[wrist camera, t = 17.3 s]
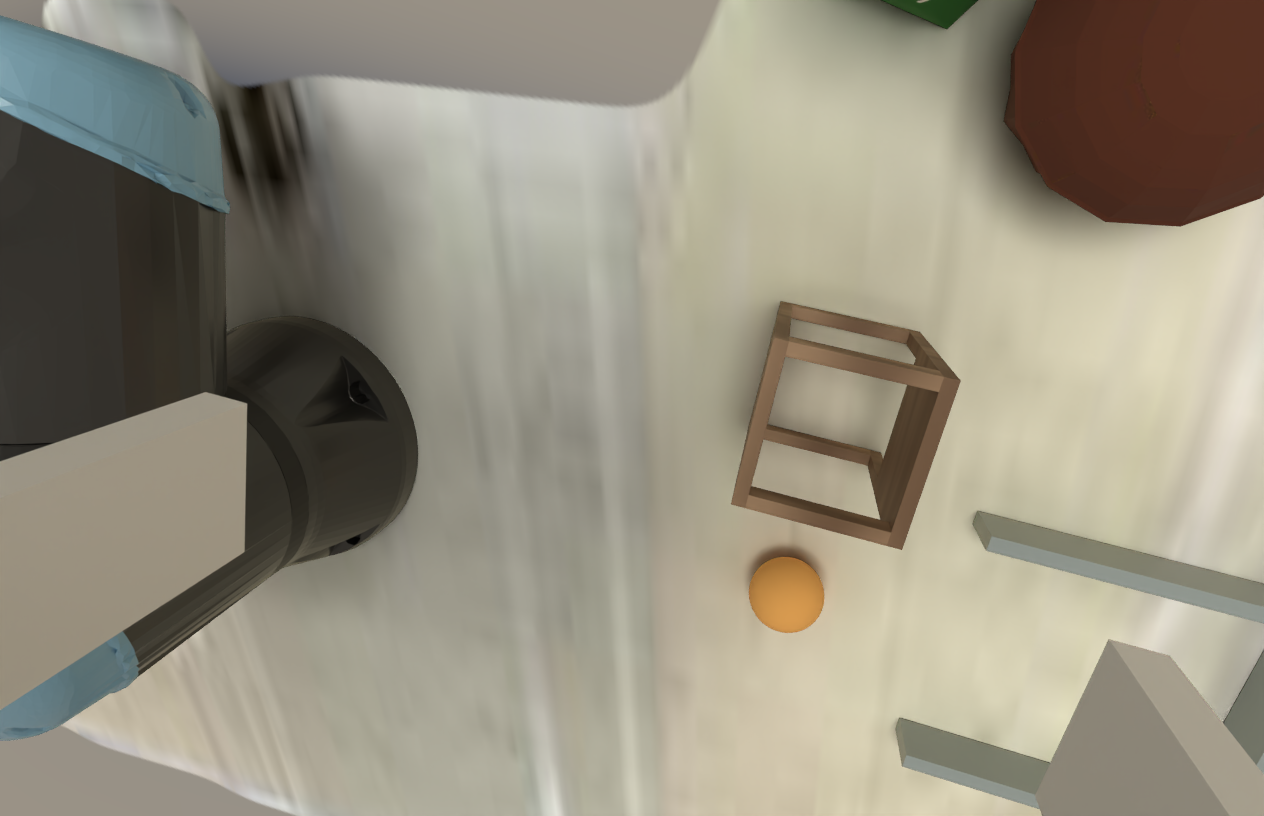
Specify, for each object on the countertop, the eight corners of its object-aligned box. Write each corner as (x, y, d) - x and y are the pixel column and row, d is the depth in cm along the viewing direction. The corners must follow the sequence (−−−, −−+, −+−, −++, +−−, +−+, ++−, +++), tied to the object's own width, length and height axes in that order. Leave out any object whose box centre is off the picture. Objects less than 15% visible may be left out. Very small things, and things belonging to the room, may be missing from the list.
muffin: (1172, 253, 33) (1318, 277, 24) (931, 180, 34) (981, 176, 25) (1328, -36, 29) (1577, -142, 20) (1050, -106, 31) (1161, -237, 21)
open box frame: (747, 430, 40) (730, 504, 30) (780, 301, 37) (773, 337, 28) (877, 463, 39) (901, 549, 29) (920, 331, 36) (960, 380, 27)
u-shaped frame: (895, 728, 43) (901, 766, 40) (977, 510, 38) (991, 536, 35) (1189, 817, 40) (1217, 864, 38) (1314, 596, 36) (1357, 631, 33)
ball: (734, 599, 42) (748, 640, 38) (753, 537, 41) (770, 573, 37) (800, 612, 42) (820, 654, 39) (821, 551, 41) (844, 588, 38)
